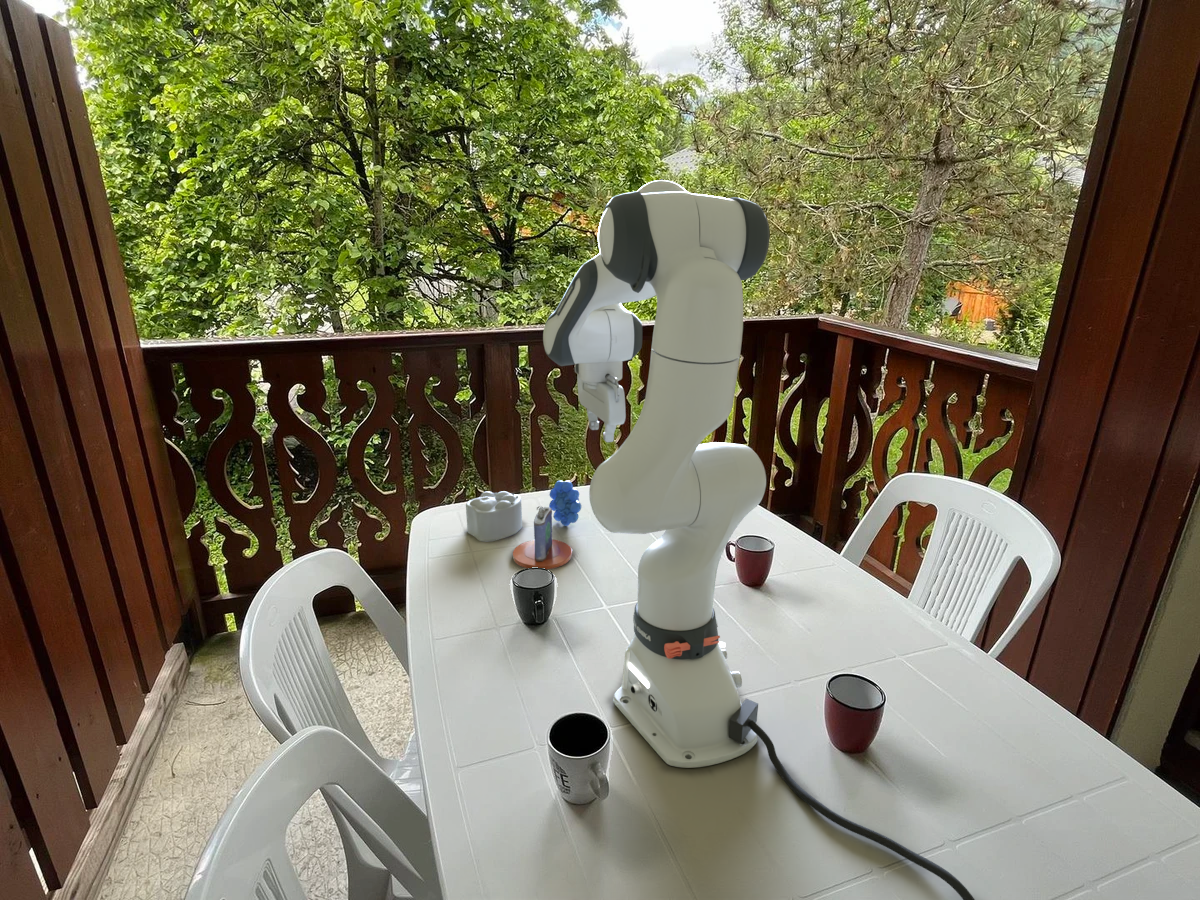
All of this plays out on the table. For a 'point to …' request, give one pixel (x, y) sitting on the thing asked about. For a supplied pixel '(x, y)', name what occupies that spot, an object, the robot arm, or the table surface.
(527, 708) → the table surface
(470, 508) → the lumpy-topped squat cylinder
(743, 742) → the robot arm
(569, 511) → the grapes
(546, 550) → the flask
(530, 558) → the coaster
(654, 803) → the table surface
